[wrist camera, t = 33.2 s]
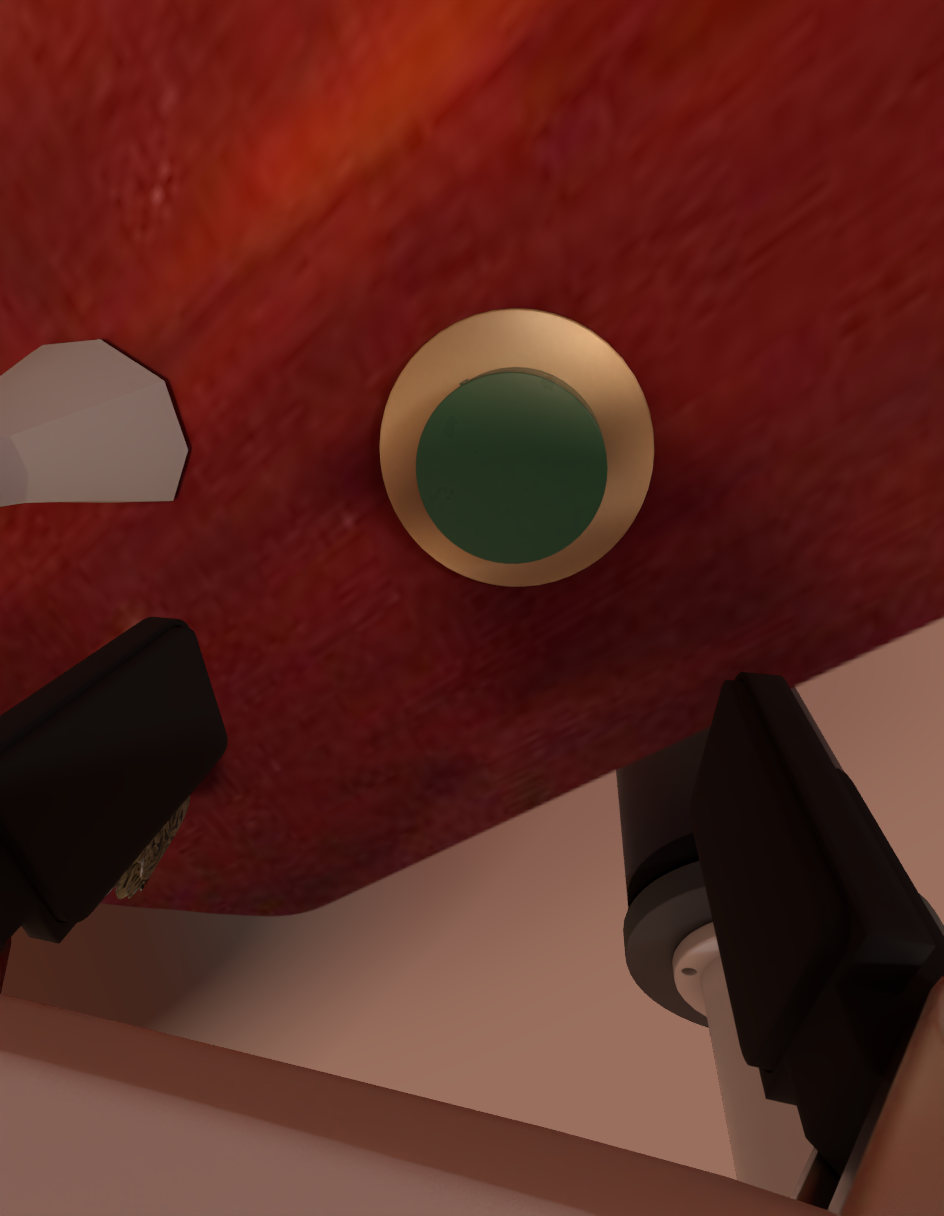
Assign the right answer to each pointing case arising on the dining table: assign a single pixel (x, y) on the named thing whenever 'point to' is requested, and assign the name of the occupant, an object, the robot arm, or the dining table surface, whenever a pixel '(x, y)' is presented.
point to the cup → (150, 856)
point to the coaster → (535, 346)
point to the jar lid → (512, 465)
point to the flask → (86, 429)
